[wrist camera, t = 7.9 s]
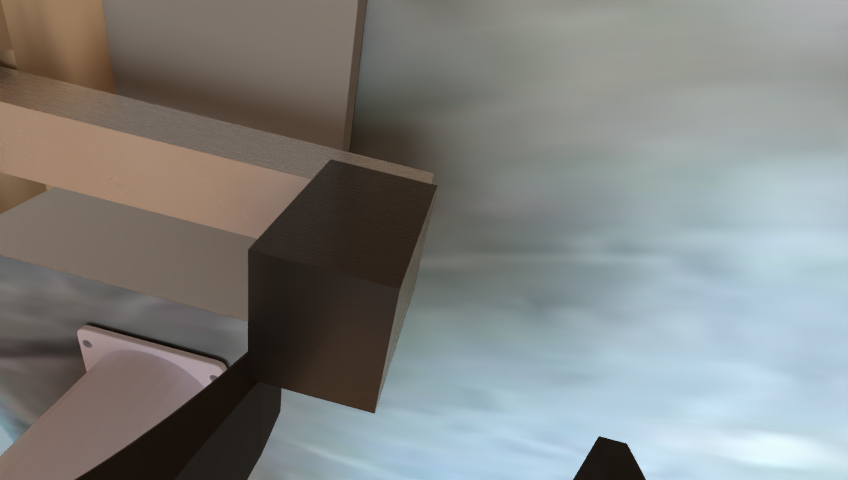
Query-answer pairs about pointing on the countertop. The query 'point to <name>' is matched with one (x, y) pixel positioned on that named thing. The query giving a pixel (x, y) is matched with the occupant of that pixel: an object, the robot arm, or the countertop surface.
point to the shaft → (248, 220)
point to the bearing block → (52, 59)
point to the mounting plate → (210, 97)
